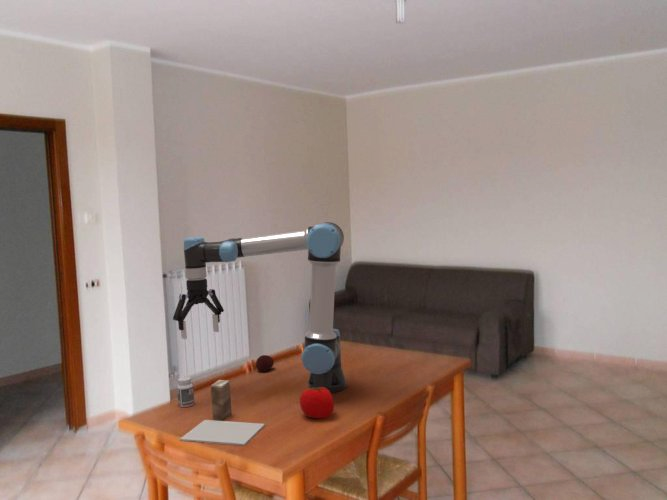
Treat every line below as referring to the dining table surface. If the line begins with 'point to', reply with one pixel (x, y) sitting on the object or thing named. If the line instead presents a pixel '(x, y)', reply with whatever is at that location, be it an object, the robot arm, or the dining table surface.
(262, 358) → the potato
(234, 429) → the mat
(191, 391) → the pill bottle
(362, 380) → the dining table surface
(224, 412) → the slab
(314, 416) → the tomato
